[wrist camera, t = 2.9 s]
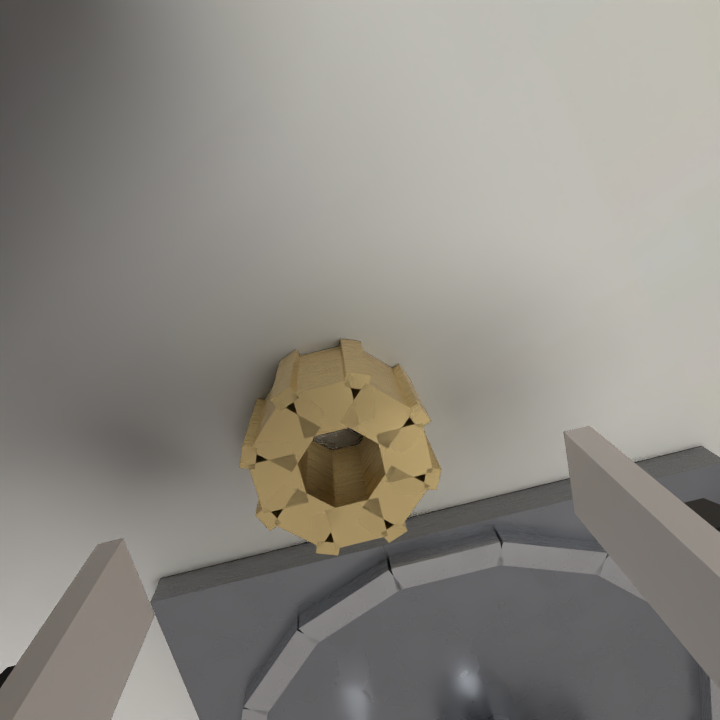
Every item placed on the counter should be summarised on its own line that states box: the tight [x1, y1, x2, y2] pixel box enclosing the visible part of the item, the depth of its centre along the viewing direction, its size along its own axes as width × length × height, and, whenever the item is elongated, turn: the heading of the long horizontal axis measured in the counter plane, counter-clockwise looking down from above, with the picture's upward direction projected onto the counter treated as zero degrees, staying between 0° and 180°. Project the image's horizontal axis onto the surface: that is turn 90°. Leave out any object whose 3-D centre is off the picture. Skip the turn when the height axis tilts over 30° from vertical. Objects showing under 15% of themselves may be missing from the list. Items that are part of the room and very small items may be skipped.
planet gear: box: [240, 339, 441, 555], centre depth 21 cm, size 7×7×4 cm
